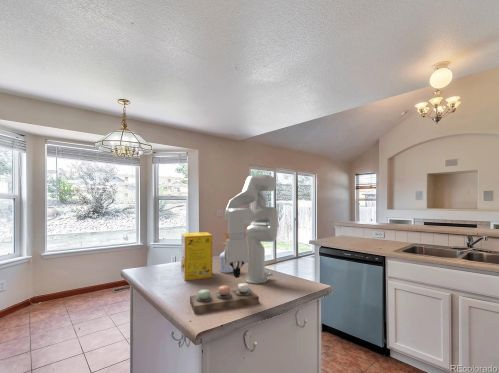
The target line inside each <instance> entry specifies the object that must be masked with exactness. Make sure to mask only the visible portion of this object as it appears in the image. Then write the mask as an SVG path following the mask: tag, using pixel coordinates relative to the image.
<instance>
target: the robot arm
mask: <svg viewBox="0 0 499 373" xmlns="http://www.w3.org/2000/svg"><path fill="white" fill-rule="evenodd" d="M243 184H244V185H243V187H242V190H241V192H239V193H238V194H237V195H236V196H234V197H232V198H231V199H230V200H229V201H228V203H227V205H226V208H225V211H224V220H225V222H227V233H228V239H227V238H226V239H225V243H226V245H224V246H225V247H224V248H225V264H226V265H230V266H232V267H233V272H232V276H234V278H235V279H237V278H240V276H241V268H242V267H243V265H245V264H247V276H246V277H245V279H244V280H245V282H247V284H248V283H249V284H254V285H255V284H256V285H257V284H258V285H259V284H265V283H267V282H268V280H269V279H268V277H273V275H274V274H273V272H268V271H267V272H266V269H265V268H266V266H265V265H266V264H265V263H266V261H265V260H266V259H265V257H266V255H265V254H266V253H265V252H266V251H265V247H264V244H262V243H263V242H266V243H274V242H275V241H276V239H277V236H278V219H279V213H278V209H277V208H276V207H273V206H267V198H266V197H265V195H264V194H263V193H262V192H273V191H275V190H276V188H277V180H276V179H275V177H274V176H272V175H269V174H254V175H253V174H252V175H249V176H247V178H246V179H245V182H244V183H243ZM249 204H251V208H247V207H243V206H248V205H249ZM250 223H254V224H250ZM255 223H256V224H255ZM245 224H246V225H248V224H250V225H248V226H247V227H246V230H245ZM245 231H246V232H245Z"/></svg>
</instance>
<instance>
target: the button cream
mask: <svg viewBox="0 0 499 373" xmlns="http://www.w3.org/2000/svg"><path fill="white" fill-rule="evenodd" d="M249 284H250V283H249ZM249 284H248V282H247V283H245V282H243V283H238V284H237V290H238V291H240V292H247V291H249V289H250V286H249Z"/></svg>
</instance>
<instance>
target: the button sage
mask: <svg viewBox="0 0 499 373" xmlns="http://www.w3.org/2000/svg"><path fill="white" fill-rule="evenodd" d="M197 293H198V294H197V295H198V298H199V299H207V298H209V297H210V290H209V289H204V288H203V289H201V290H198V292H197Z"/></svg>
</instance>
